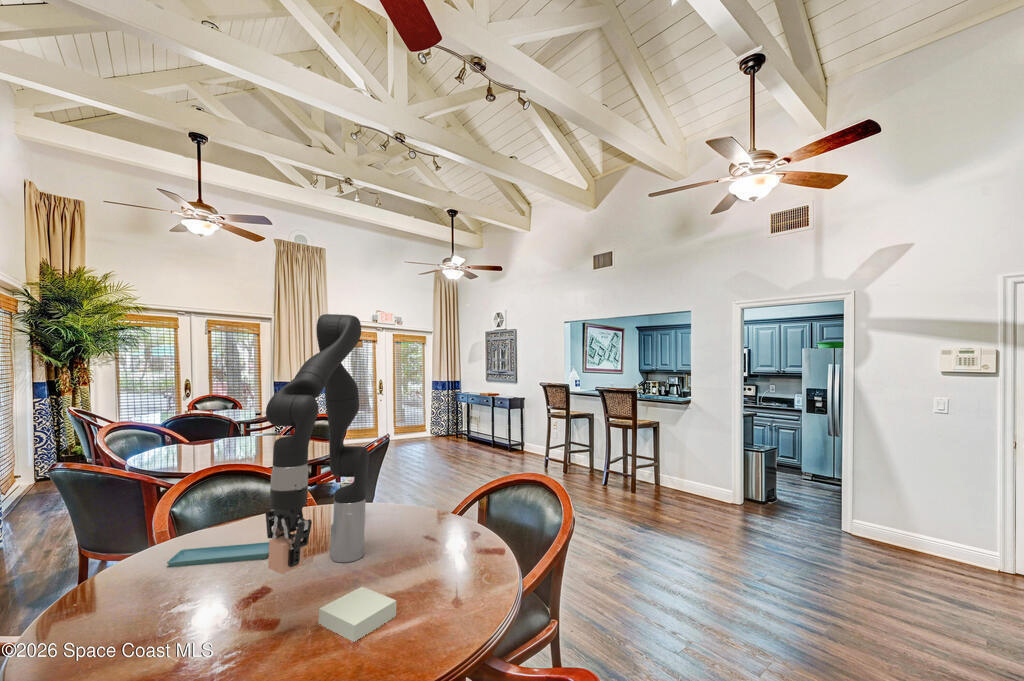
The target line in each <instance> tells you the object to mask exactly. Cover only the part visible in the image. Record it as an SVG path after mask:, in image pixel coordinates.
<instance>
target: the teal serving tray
mask: <svg viewBox="0 0 1024 681" xmlns="http://www.w3.org/2000/svg"><path fill="white" fill-rule="evenodd" d="M267 557H269V541H265V542H254V543H245V544H244V543H243V544H233V545H231V544H230V545H220V546H208V547H206V546H205V547H196V548H184V549H180V550H179V551H178V552H177V553H176V554H174V555H173V557H171V558H170V559H169V560H167V561H166V563H167V565H168V566H169V567H170V568H175V567H184V566H185V567H188V566H199V565H211V564H224V563H234V562H235V563H237V562H247V561H256V560H257V561H258V560H260V561H261V560H266V559H267Z"/></svg>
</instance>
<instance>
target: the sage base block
mask: <svg viewBox="0 0 1024 681" xmlns="http://www.w3.org/2000/svg"><path fill="white" fill-rule="evenodd" d="M395 616H396V617H397V600H396V599H394V598H391V597H390V596H387V595H385V594H382V593H379V592H376V591H374V590H372V589H369V588H367V587H365V586H360V587H358V588H356V589H354V590H352V591H350V592H348V593H347V594H345V595H343V596H341V597H339V598H337V599H335V600H333V601H331V602H329V603H327V604H326V605H323V606H321V607H320V608H319V609H318V625H319V624H321V625H322V626H324V627H326V628H327V629H330V630H332V631H333V632H335V633H338V634H339V635H341V636H343V637H344V638H343V637H342V638H343V639H345V638H347V639H349V640H351V641H353V642H355V641H356V642H358V641H359V640H358V639H360V638H361V639H362V637H363V636H364V637H366V636H367V635H369V634H370V632H371V633H372V632H373V630H374V631H375V630H377V629H378V628H380V627H382V626H384V623H385V624H386V623H388V622H390V621H391V620H393V619H394V618H396V617H395ZM392 618H393V619H392ZM389 620H390V621H389ZM381 625H382V626H381ZM322 626H321V627H322ZM324 627H323V628H324ZM326 628H325V629H326ZM376 628H377V629H376ZM327 629H326V630H327ZM333 632H332V633H333ZM335 633H334V634H335ZM368 633H369V634H368ZM366 634H367V635H366ZM339 635H338V636H339ZM365 635H366V636H365ZM341 636H340V637H341ZM364 637H363V638H364ZM347 639H346V640H347ZM361 639H360V640H361ZM349 640H348V641H349ZM357 640H358V641H357ZM351 641H350V642H351ZM353 642H352V643H353ZM356 642H355V643H356Z"/></svg>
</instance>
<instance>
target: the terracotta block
mask: <svg viewBox="0 0 1024 681" xmlns="http://www.w3.org/2000/svg"><path fill="white" fill-rule="evenodd" d="M290 534H293V532H291V533H290ZM295 538H296V537H294V538H293V542H294V543H295ZM302 541H303V538H302ZM268 542H269V554H268V563H267V564H268V569H269V570H271V571H274V572H276V573H278V574H280V575H283V574H285V573H288V572H290V571H292V570H295V569H297V568H299V567H302V566H304V552H305V546H303V547H301V548H300V561H299V564H298V565H296V566H293V567H289V566H288V556H289V550H290V549H289V543H288V540H286V539H285V535H283V536H280V537H278V538H274V539H271V538H270V539H269V541H268Z"/></svg>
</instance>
